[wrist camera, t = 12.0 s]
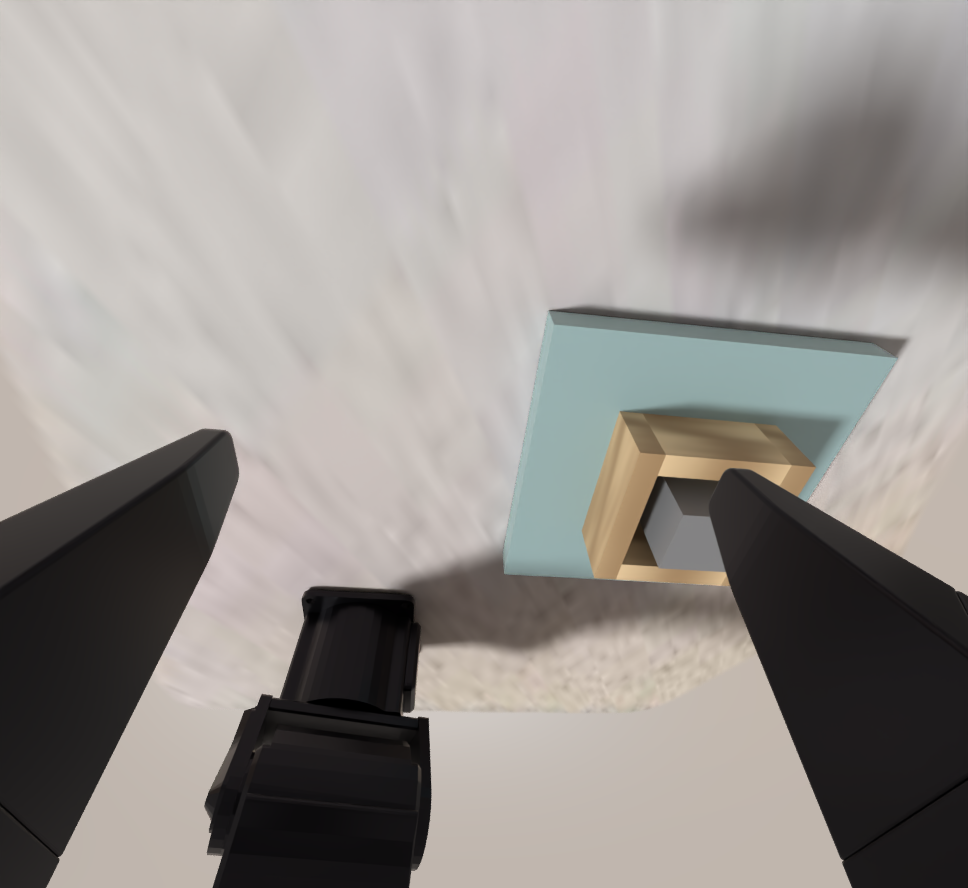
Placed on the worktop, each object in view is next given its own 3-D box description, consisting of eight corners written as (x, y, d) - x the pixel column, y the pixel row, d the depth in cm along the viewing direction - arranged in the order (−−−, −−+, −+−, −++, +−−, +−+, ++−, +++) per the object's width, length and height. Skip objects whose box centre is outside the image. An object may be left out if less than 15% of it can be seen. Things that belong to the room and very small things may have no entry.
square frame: (581, 530, 25) (594, 578, 22) (619, 411, 21) (640, 452, 18) (714, 539, 25) (741, 586, 23) (775, 425, 21) (816, 467, 19)
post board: (502, 553, 28) (509, 641, 23) (548, 310, 20) (572, 372, 15) (739, 566, 29) (790, 653, 24) (872, 343, 21) (984, 409, 16)
